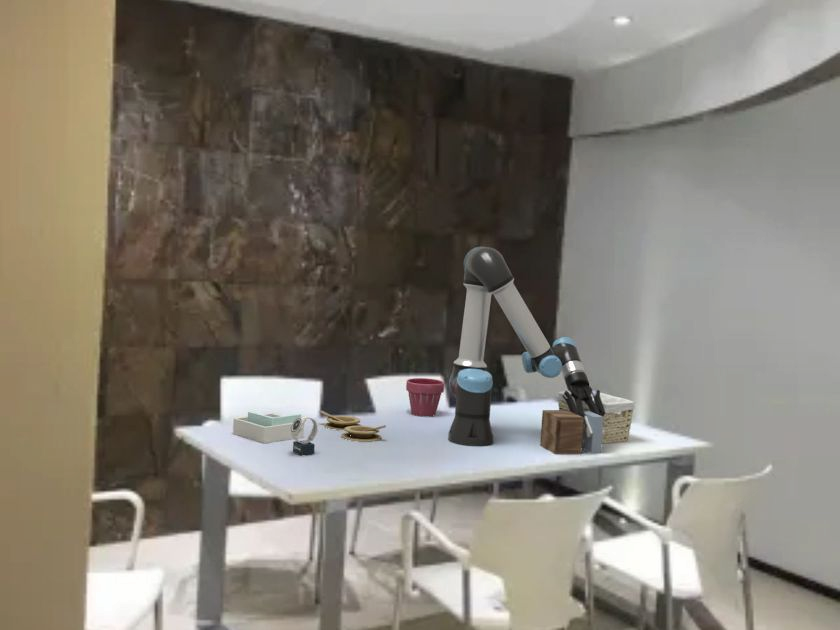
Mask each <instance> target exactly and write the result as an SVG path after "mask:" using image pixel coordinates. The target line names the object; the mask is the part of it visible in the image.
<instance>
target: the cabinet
mask: <svg viewBox="0 0 840 630" xmlns="http://www.w3.org/2000/svg"><path fill="white" fill-rule="evenodd" d="M541 414H542V417H541V427H540V441H539V446H540V447H542V448H544V449H545V450H547V451H549V452H551V453H553V454H554V455H581V454H582V448H581V447H584V439H582V433H583V432H585V424H583V421H584V417H581V416H579V415H577V414H575V413H572V412H570V411H568V410H559V409H542V413H541Z"/></svg>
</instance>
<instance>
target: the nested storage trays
mask: <svg viewBox="0 0 840 630" xmlns="http://www.w3.org/2000/svg"><path fill="white" fill-rule="evenodd" d="M263 415H266V416H269V417H281V416H282V415H280V414H276V413H273V412H272V413H265V414H263ZM292 424H293V423H289V424H283V425H276V426H268V427H264V426H261V425H258V424H254V423H251V422H248V416H242V417H235V418H233V424H232V434H233V435H236V436H238V437H243V438H246V439H249V440H252V441H256V442H258V443H262V444H270V443H276V442H283V441H287V440H288V441H289V440H294V439H293V437H292V434H291V426H292ZM304 432H305V426H304V427H303V429H302V430H301V431H300V433H298V436H296V437H297V439H301V437H302V438H304V435H305V433H304Z"/></svg>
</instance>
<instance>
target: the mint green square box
mask: <svg viewBox="0 0 840 630" xmlns="http://www.w3.org/2000/svg"><path fill="white" fill-rule="evenodd" d="M247 417H248V422H251V423H254V424H258V425H261V426H264V427H268V426H276V425H283V424H289V423H293V422H294V421H295V420H296V419H297V418H300V417H302V414H301V413H297V414H296V413H295V414H289V415H288V414H287V415H281V417H269V416H266V415H264V414H262V413H258V412H254V411H248V412H247Z"/></svg>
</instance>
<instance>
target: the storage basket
mask: <svg viewBox="0 0 840 630" xmlns="http://www.w3.org/2000/svg"><path fill="white" fill-rule="evenodd" d="M565 391H566V390H565ZM565 391H562V390H561V391H560V390H559V392H558V393H557V400H558V401H557V402H558V404H557V406H558V410H568V411H570V409H569V407H568V405H567V402H566V400H565V399H564V398H563V394H564V392H565ZM591 396H592V400H593V401H594V398H593V395H592V394H591ZM600 398H601V401H602V404H603V407H604V410H605V415H604V416H603V423H604V425H603V429H604V431H605V433H604V434H603V436H602V444H604V445H605V444H611V443H621V442H622V443H623V442H626V441H628V440H629V437H630V432H631V431H630V430H631V427H632V426H631V425H632V422H633V421H632V419H633V412H634V410H635V409H636V407H635V402H634V400H633V401H632V400H630V399H627V398H623V397H619V396H614V395H611V394H608V393H604V392H600ZM572 399H573V401H574V403H575V399H574V398H573V397H572ZM594 403H595V401H594ZM582 405H583V411H591V410H590V409H589V407H588V405H587V404H585V402H584V401H582ZM575 406H576V404H575Z"/></svg>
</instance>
